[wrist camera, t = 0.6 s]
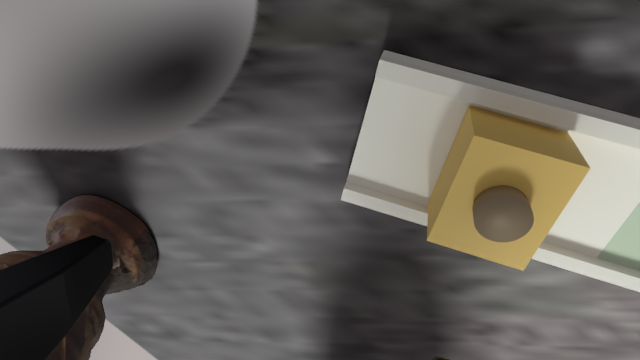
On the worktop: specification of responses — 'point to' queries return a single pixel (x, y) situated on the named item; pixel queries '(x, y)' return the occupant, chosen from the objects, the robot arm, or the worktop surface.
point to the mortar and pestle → (128, 261)
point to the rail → (515, 101)
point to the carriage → (503, 187)
